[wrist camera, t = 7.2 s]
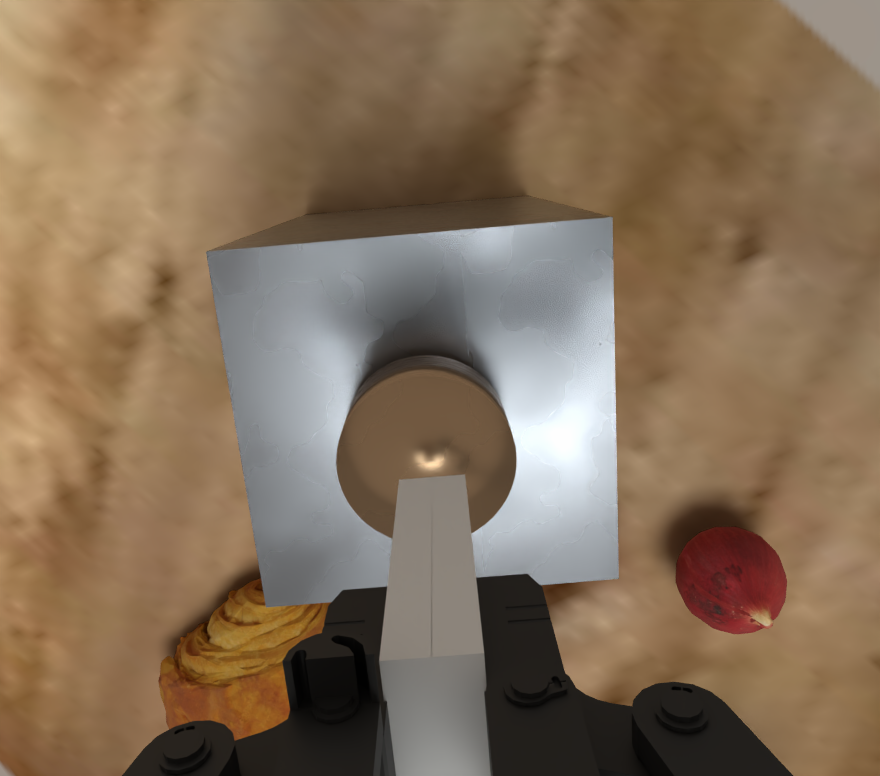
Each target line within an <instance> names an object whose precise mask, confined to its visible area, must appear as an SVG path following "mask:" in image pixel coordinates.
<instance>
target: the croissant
mask: <svg viewBox="0 0 880 776" xmlns="http://www.w3.org/2000/svg"><path fill="white" fill-rule="evenodd" d="M228 597H229V599H228V600H227V601H225V602H224V603H223V604H222V605H221V606H220V607H219V608H218V609H216V610H215V611H214V612H213V614H212V616H211V618H210V620H209V621H207V622H205V623H202V624H199V626H198V627H197V628H196V629H195V630H194V631H193V632H190V633H187V636H186V637H181V638H180V639H181V643H180V644H179V645H178V646H177V650H176V654H175V656H174V658H172V657H170V656H168V657H166V658H165V659H164V660H163V661H162V662H161V670H160V677H159V687H160V694H161V697H162V700H163V703H164V706H165V710H166V722H167V725H168V727H169V729H171V728H173V727H175V726H178V725H182V724H185V723H188V722H191V721H204V720H212V721H215V722H218V723H222V724H225V725H226V726H227V727H228V728H229V729H230V730H231V731H232V732H233V735H234V740H238V739H241V738H244V737H248V736H251V735H254V734H257V733H260V732H263V731H265V730H268V729H270V728H273V727H275V726H277V725H278V724H280V723H282V722H283V721H285V720H287V719H288V716H289V712H290V706H289V700H288V694H287V688H286V682H285V676H284V669H283V663H282V661H283V659H284V657H285V656H286V654H287V653H288V651H289V650H290V649H291V648H292V647H294V646H295V645H296V644H297V643H299V642H300V641H302V640H304V639H306V638H308V637H311V636H313V635H315V634H319V633H322V629H323V627H324V621H325V617H326V613H327V609H328V606H329V604H330V603H331V602H328V603H316V604H304V605H291V606H279V607H267V608H266V605H265V599H264V593H263V587H262V581H261V578H260V579H258V580H255V581H251V582H249V583H248V584H247V585H245V586H244V587H242V588H241V589H239V590H233V591H230V592H229V596H228Z"/></svg>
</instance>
